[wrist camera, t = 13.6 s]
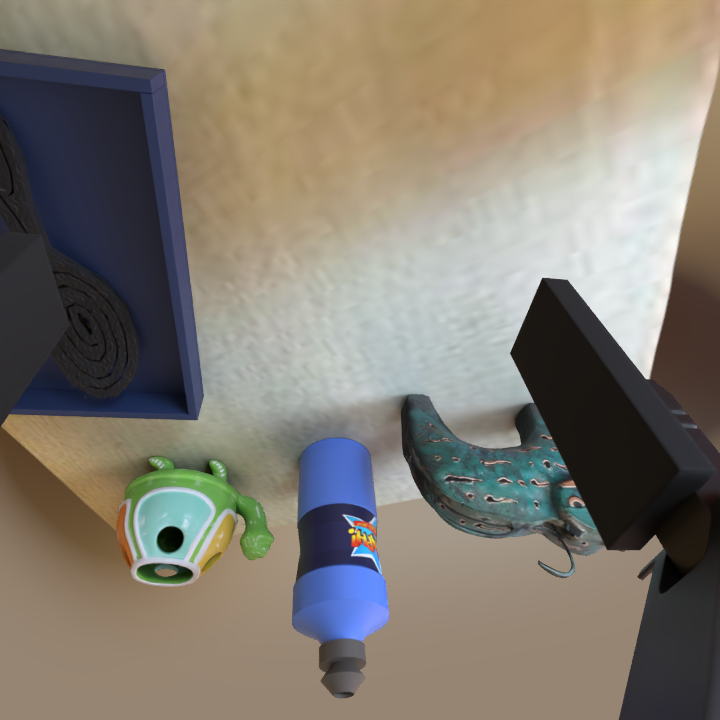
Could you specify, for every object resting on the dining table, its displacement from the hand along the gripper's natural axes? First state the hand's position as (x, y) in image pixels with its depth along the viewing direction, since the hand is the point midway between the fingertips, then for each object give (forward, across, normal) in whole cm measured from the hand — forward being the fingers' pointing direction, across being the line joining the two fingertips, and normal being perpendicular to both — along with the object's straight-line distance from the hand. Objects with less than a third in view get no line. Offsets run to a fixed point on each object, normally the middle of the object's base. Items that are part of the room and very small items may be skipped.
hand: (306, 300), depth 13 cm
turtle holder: (+27, -11, -46) cm, 54 cm away
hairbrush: (+26, -20, -15) cm, 36 cm away
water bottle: (+27, +6, -41) cm, 49 cm away
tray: (+27, -20, -15) cm, 36 cm away
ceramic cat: (+27, +22, -31) cm, 46 cm away
